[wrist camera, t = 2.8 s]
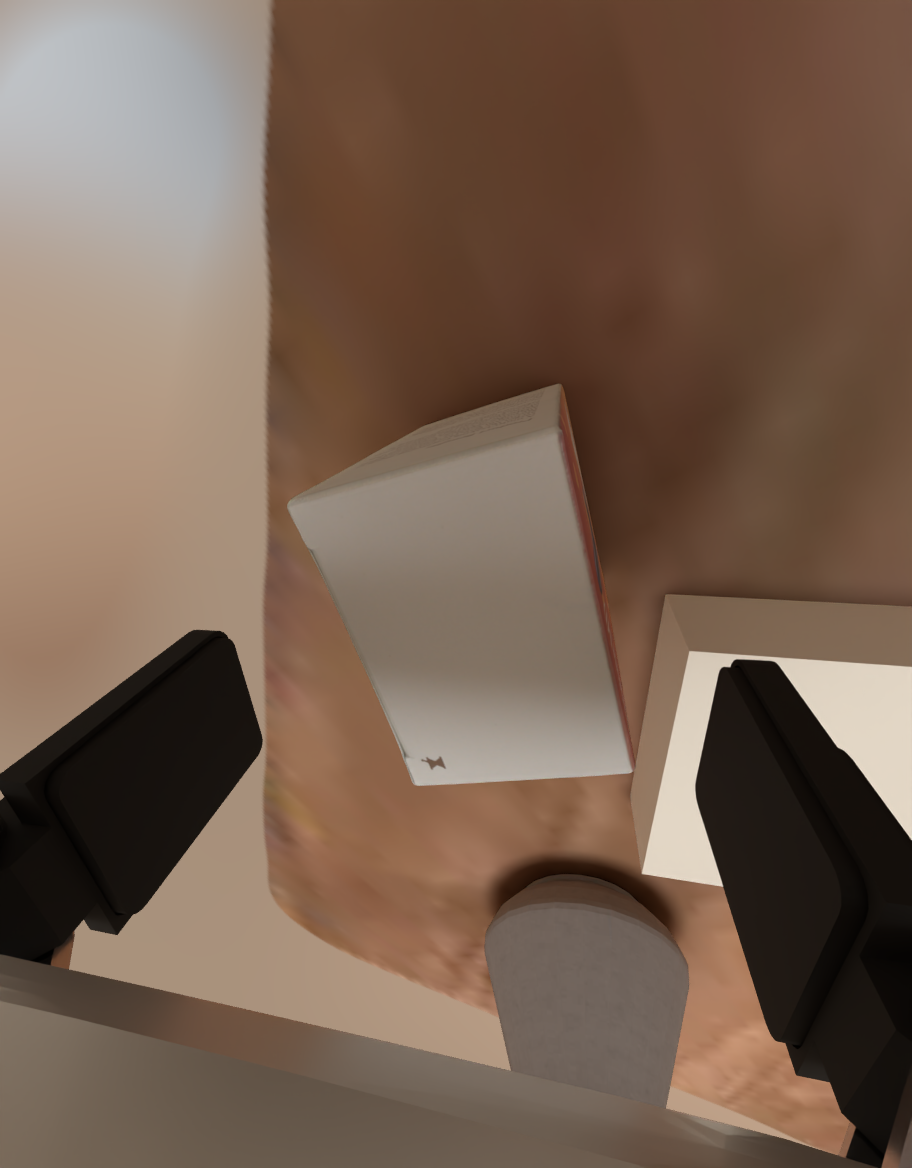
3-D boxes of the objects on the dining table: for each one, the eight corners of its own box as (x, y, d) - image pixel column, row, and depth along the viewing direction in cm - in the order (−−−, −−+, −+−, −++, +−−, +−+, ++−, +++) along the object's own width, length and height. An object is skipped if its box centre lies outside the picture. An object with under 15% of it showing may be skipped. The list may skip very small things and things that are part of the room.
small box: (604, 577, 20) (642, 784, 10) (476, 601, 21) (412, 796, 12) (564, 377, 17) (568, 419, 7) (419, 422, 18) (276, 503, 9)
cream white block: (663, 589, 20) (689, 651, 16) (1009, 606, 18) (1139, 683, 14) (629, 790, 25) (641, 873, 21) (890, 823, 23) (959, 924, 19)
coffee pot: (687, 865, 26) (813, 1384, 13) (669, 976, 31) (747, 1433, 18) (335, 825, 31) (169, 1178, 18) (368, 927, 36) (257, 1262, 23)
